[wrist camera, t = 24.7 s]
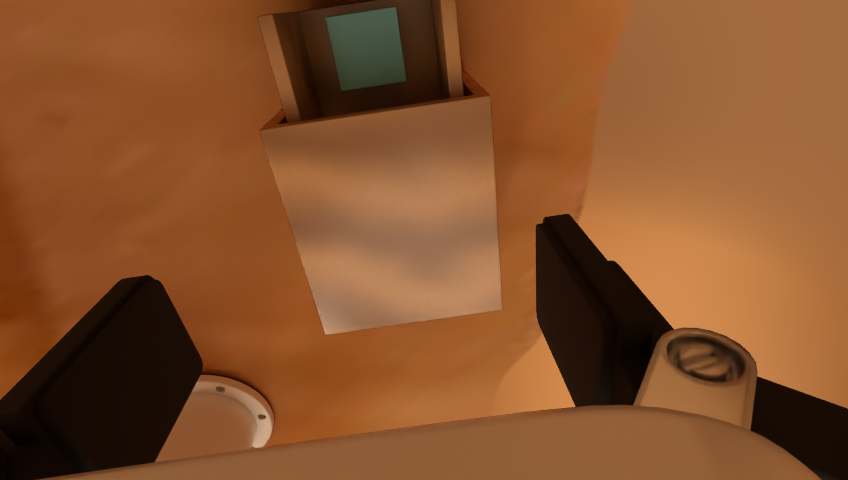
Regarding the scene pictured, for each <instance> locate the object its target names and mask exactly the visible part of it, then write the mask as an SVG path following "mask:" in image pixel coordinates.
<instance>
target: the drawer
mask: <svg viewBox="0 0 848 480" xmlns="http://www.w3.org/2000/svg"><path fill="white" fill-rule="evenodd" d="M393 6H396V9H397V16H398V23H399V30H400V37H401V44H402V51H403V57H404V64H405V71H406V78H407V82H401V83H394V84H388V85H381V86H374V87H368V88H361V89H355V90H348V91H341V88H340V83H339V79H338V74H337V70H336V65H335V61H334V56H333V51H332V47H331V42H330V38H329V33H328V29H327V24H326V19H325V17H329V16H334V15H341V14H347V13H354V12H360V11H367V10H374V9H380V8H387V7H393ZM257 18H258V22H259V25H260V29H261V32H262V36H263V39H264V43H265V46H266V50H267V53H268V57H269V60H270V64H271V67H272V70H273V74H274V77H275V81H276V84H277V88H278V91H279V95H280V98H281V102H282V105H283V109H284V112H285V116H286V119H287V123H291V122H297V121H304V120H310V119H317V118H324V117H330V116H337V115H344V114H350V113H357V112H364V111H370V110H377V109H384V108H390V107H397V106H404V105H410V104H417V103H424V102H430V101H437V100H444V99H450V98H457V97H464V91H463V79H462V67H461V56H460V44H459V32H458V21H457V9H456V0H370V1H364V2H357V3H351V4H344V5H338V6H331V7H325V8H318V9H312V10H305V11H299V12H288V13H276V14H267V15H261V16H257Z"/></svg>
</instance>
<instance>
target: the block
mask: <svg viewBox="0 0 848 480" xmlns="http://www.w3.org/2000/svg"><path fill="white" fill-rule="evenodd" d="M325 19H326V24H327V29H328V33H329V38H330V42H331V47H332V51H333V56H334V61H335V65H336V70H337V74H338V79H339V83H340V88H341V91H348V90H355V89H361V88H368V87H374V86H381V85H388V84H394V83H401V82H407V78H406V71H405V64H404V57H403V51H402V44H401V37H400V30H399V23H398V16H397V9H396V6H393V7H387V8H380V9H374V10H367V11H360V12H354V13H347V14H341V15H334V16H329V17H325Z"/></svg>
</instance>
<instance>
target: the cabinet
mask: <svg viewBox="0 0 848 480" xmlns="http://www.w3.org/2000/svg"><path fill="white" fill-rule="evenodd" d="M462 79H463V91H464V97H457V98H450V99H444V100H437V101H430V102H424V103H417V104H410V105H404V106H397V107H390V108H384V109H377V110H370V111H364V112H357V113H350V114H344V115H337V116H330V117H324V118H317V119H310V120H304V121H297V122H291V123H287V119H286V116H285V112H284V109H282V110H280V111H279V112H278V113H277V114H276V115H275V116H274V117H273V118H272V119H271V120H270V121H269V122H268V123H266V124H265V125H264V126H263V127H262V128H261V129H260V130H259V132H260V135H261V138H262V141H263V144H264V147H265V150H266V153H267V156H268V159H269V163H270V166H271V169H272V172H273V175H274V178H275V181H276V184H277V187H278V190H279V193H280V197H281V200H282V203H283V206H284V209H285V212H286V215H287V218H288V221H289V224H290V228H291V231H292V234H293V237H294V240H295V243H296V246H297V249H298V252H299V255H300V258H301V262H302V265H303V268H304V271H305V274H306V277H307V280H308V283H309V286H310V289H311V293H312V296H313V299H314V302H315V305H316V308H317V311H318V314H319V317H320V320H321V323H322V327H323V330H324V333H325V335H330V334H337V333H344V332H351V331H358V330H365V329H372V328H379V327H386V326H393V325H400V324H407V323H414V322H421V321H428V320H435V319H442V318H449V317H456V316H462V315H469V314H476V313H483V312H490V311H497V310H502V309H503V305H502V287H501V269H500V251H499V233H498V215H497V197H496V179H495V161H494V143H493V126H492V108H491V96H490V95H489V94H488V93H487V92H486V91H485V90H484V89H483V88H482V87H481V86H480V85H479V84H478V83H477V82H476V81H475V80H474V79H473V78H472V77H471V76H470V75H469V74H468V73H467V72H466V71H462Z"/></svg>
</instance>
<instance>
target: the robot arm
mask: <svg viewBox="0 0 848 480" xmlns="http://www.w3.org/2000/svg"><path fill="white" fill-rule="evenodd" d="M536 312H537V319H538V323H539V325H540V328H541V330H542V332H543V335H544V337H545V339H546V341H547V344H548V346H549V348H550V350H551V352H552V355H553V357H554V359H555V361H556V364H557V366H558V368H559V370H560V373H561V375H562V377H563V379H564V382H565V384H566V386H567V388H568V390H569V392H570V395H571V397H572V400H573V402H574V404H575V406H576V407H572V408H561V409H550V410H539V411H529V412H520V413H514V414H506V415H498V416H490V417H482V418H473V419H465V420H458V421H450V422H443V423H435V424H428V425H421V426H413V427H406V428H398V429H391V430H383V431H376V432H368V433H361V434H353V435H346V436H339V437H331V438H324V439H317V440H310V441H302V442H295V443H288V444H281V445H274V446H266V447H263V446H264V445H265V444H266V442H267V441H268V439H269V438H270V435H271V432H272V429H273V424H274V416H273V412H272V410H271V407H270V406H269V404H268V403H267V401H266V400H265V399H264V398H263V397H262V396H261V395H260V394H259V393H258V392H257V391H255V390H254V389H252V388H251V387H249V386H247V385H245V384H243V383H241V382H239V381H236V380H233V379H230V378H226V377H221V376H215V375H201V373H202V369H203V363H202V359H201V357H200V355H199V353H198V351H197V349H196V347H195V345H194V343H193V342H192V340H191V338H190V336H189V334H188V332H187V330H186V328H185V326H184V324H183V323H182V321H181V319H180V317H179V315H178V313H177V311H176V309H175V307H174V305H173V304H172V302H171V300H170V298H169V296H168V294H167V292H166V290H165V288H164V286H163V285H162V283H161V282H160V281H158V280H155V279H154V278H152V277H151V276H148V275H145V276H138V277H131V278H125V279H121V280H120V281H119V282H118V283H117V284H116V285H115V286H114V287H113V288H112V289H111V290H110V291H109V292H108V293H107V294H106V295H105V296H104V297H103V298H102V299H101V300H100V301H99V302H98V303H97V304H96V305H95V306H94V307H93V308H92V309H91V310H90V311H89V312H88V313H87V314H86V315H85V316H84V317H83V318H82V319H81V320H80V321H79V322H78V323H77V324H76V325H75V326H74V327H73V328H72V329H71V330H70V331H69V332H68V333H67V334H66V335H65V336H64V337H63V338H62V339H61V340H60V341H59V342H58V343H57V344H56V345H55V346H54V347H53V348H52V349H51V350H50V351H49V352H48V353H47V354H46V355H45V356H44V357H43V358H42V359H41V360H40V361H39V362H38V363H37V364H36V365H35V366H34V367H33V368H32V369H31V370H30V371H29V372H28V373H27V374H26V375H25V376H24V377H23V378H22V379H21V380H20V381H19V382H18V383H17V384H16V385H15V386H14V387H13V388H12V389H11V390H10V391H9V392H8V393H7V394H6V395H5V396H4V397H3V398H2V399H1V400H0V480H848V409H847V408H844V407H841V406H839V405H836V404H833V403H830V402H827V401H825V400H822V399H819V398H816V397H813V396H811V395H808V394H805V393H802V392H799V391H797V390H794V389H791V388H788V387H785V386H783V385H780V384H777V383H774V382H771V381H769V380H766V379H763V378H760V377H757V366H756V362H755V361H754V359H753V357H752V356H751V354H750V353H749V352H748V351H747V350H746V349H745V348H743V347H742V346H741V345H740V344H739V343H737V342H735V341H734V340H732V339H730V338H728V337H726V336H724V335H721V334H719V333H716V332H713V331H710V330H704V329H699V328H679V329H675V330H674V329H673V328H672V327H671V325H670V324H669V323H668V322H667V321H666V320H665V319H664V317H663V316H662V315H661V314H660V312H659V311H658V310H657V309H656V308H655V307H654V305H653V304H652V303H651V302H650V301H649V300H648V299H647V297H646V296H645V295H644V294H643V293H642V292H641V290H640V289H639V288H638V287H637V286H636V285H635V283H634V282H633V281H632V280H631V279H630V277H629V276H628V275H627V274H626V273H625V272H624V270H623V269H622V268H621V267H620V266H619V265H618V264H617V263H616V262H615V261H607V259H606V258H605V257H604V256H603V255H602V253H601V252H600V251H599V250H598V248H597V247H596V246H595V245H594V244H593V243H592V241H591V240H590V239H589V238H588V236H587V235H586V234H585V233H584V231H583V230H582V229H581V228H580V227H579V225H578V224H577V223H576V222H575V221H574V219H573V218H572V217H571V216H570V215H569V214H563V215H556V216H549V217H545V218H544V220H543V223H542V224H537V225H536Z"/></svg>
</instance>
